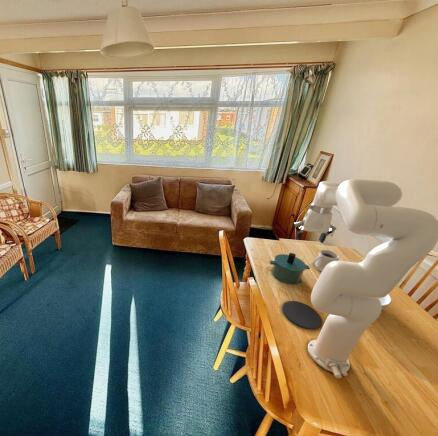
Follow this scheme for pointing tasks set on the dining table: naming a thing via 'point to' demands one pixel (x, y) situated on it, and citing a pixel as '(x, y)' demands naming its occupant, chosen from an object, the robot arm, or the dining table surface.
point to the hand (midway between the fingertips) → (309, 240)
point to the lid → (290, 262)
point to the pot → (286, 274)
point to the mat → (301, 315)
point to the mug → (324, 259)
